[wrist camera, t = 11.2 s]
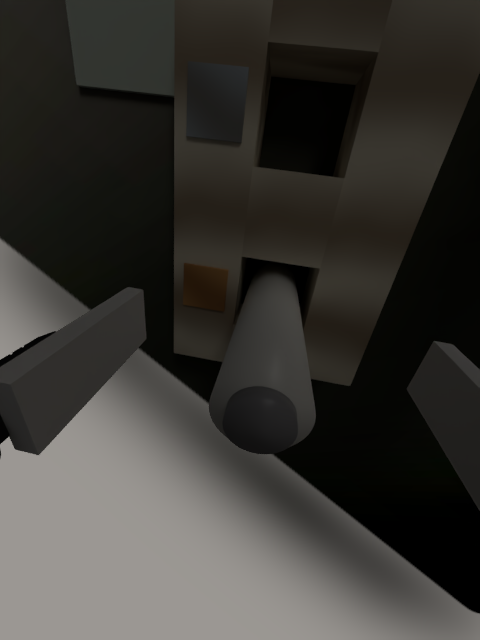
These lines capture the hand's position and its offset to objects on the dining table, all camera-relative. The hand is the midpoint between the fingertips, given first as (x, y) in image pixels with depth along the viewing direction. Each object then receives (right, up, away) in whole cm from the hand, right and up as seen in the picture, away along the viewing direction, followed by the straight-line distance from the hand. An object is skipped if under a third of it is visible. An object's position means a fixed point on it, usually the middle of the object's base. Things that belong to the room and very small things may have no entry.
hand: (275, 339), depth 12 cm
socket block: (+2, +9, +7) cm, 11 cm away
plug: (+1, +4, +9) cm, 10 cm away
